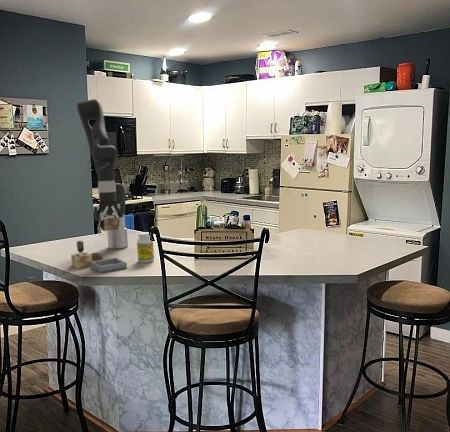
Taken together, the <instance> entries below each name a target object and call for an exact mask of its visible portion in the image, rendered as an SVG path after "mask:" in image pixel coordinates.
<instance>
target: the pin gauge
mask: <svg viewBox="0 0 450 432" xmlns="http://www.w3.org/2000/svg"><path fill="white" fill-rule="evenodd" d="M84 246H85V245H84V240H77V241H76V249H77V251H78V253H79V256H82V255H83V253H84V250H85V248H84Z"/></svg>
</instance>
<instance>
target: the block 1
mask: <svg viewBox="0 0 450 432" xmlns="http://www.w3.org/2000/svg"><path fill="white" fill-rule="evenodd" d="M91 254H92V253H89V252H88V251H83V255H82V256H79V252H78V253H71V254H70V259H71V266H73V267H74V268H75V269H82V268H88V267H92V266H91V262H92V255H91Z"/></svg>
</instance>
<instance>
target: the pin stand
mask: <svg viewBox="0 0 450 432" xmlns="http://www.w3.org/2000/svg"><path fill="white" fill-rule="evenodd" d="M90 254H91V255H92V261H98V260H104V258H103V254H102V253H101V252H94V253H90Z"/></svg>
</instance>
